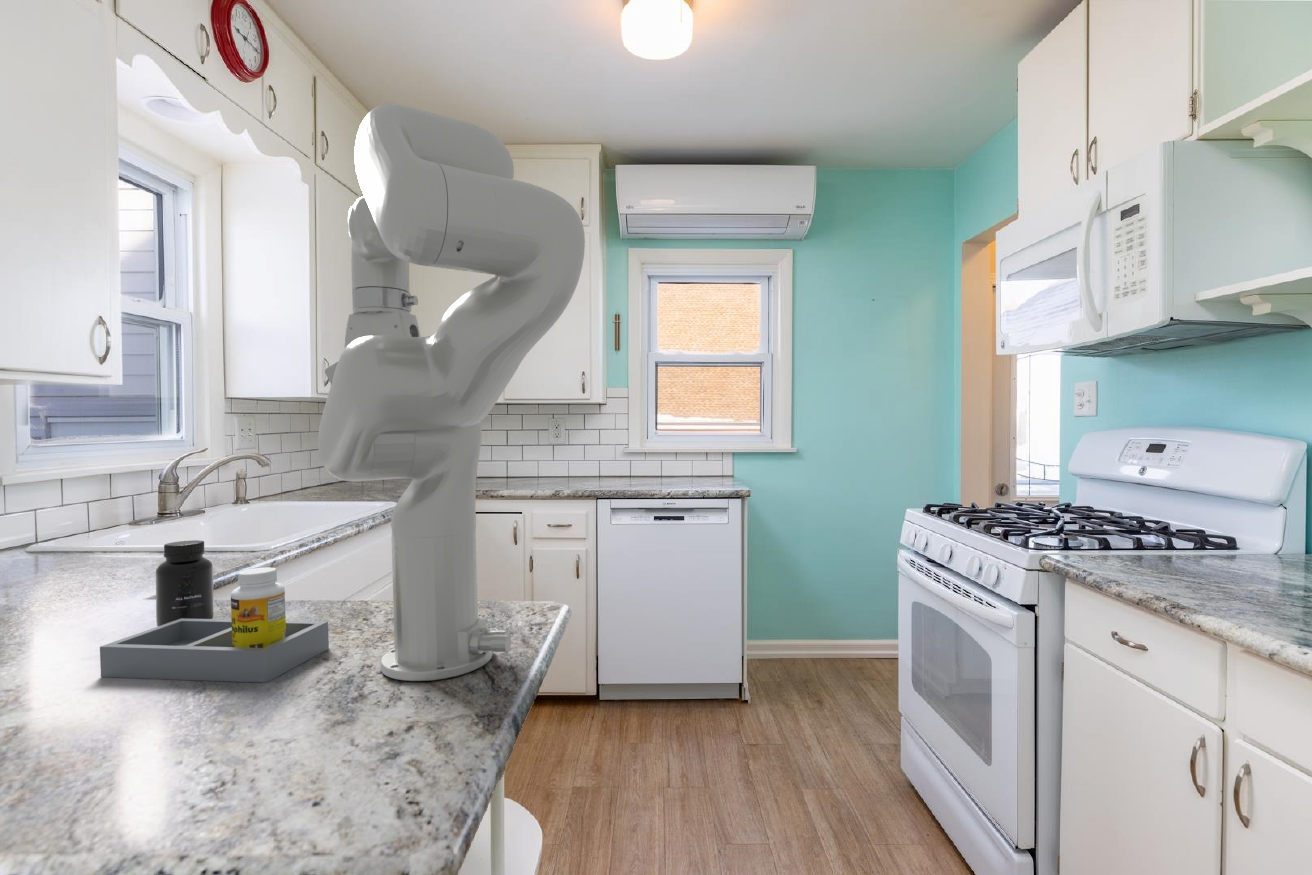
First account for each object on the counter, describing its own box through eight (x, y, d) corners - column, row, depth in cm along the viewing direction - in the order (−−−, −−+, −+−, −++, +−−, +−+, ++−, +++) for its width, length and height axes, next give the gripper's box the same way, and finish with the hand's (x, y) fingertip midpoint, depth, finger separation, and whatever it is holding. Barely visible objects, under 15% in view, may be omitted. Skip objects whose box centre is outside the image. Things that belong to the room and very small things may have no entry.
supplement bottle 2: (221, 661, 77) (218, 574, 77) (262, 645, 82) (259, 564, 82) (257, 665, 75) (254, 576, 75) (297, 649, 81) (294, 566, 80)
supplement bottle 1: (184, 632, 92) (181, 547, 92) (144, 630, 93) (141, 546, 93) (225, 618, 99) (223, 538, 98) (188, 616, 100) (185, 538, 100)
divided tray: (328, 648, 84) (327, 621, 83) (266, 682, 73) (265, 651, 73) (182, 644, 86) (181, 618, 86) (100, 676, 76) (99, 646, 75)
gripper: (451, 307, 95) (454, 425, 96) (341, 312, 98) (345, 427, 98) (426, 297, 88) (430, 425, 88) (308, 303, 90) (312, 427, 90)
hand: (385, 426), depth 93 cm, fingers open, 9 cm apart
